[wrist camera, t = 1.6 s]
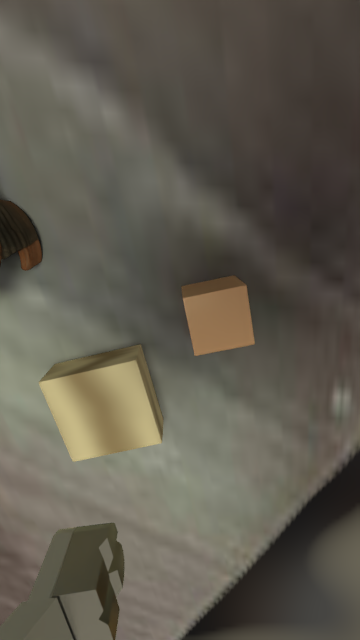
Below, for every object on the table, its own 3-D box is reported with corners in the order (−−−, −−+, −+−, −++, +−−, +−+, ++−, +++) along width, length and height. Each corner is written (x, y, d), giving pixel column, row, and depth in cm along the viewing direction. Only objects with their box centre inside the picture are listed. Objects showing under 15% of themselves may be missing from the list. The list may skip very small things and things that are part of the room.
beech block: (141, 343, 30) (136, 360, 26) (163, 417, 32) (162, 442, 28) (55, 362, 30) (38, 382, 26) (84, 434, 33) (73, 461, 29)
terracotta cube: (233, 274, 27) (246, 284, 23) (241, 324, 29) (254, 344, 24) (181, 286, 28) (182, 298, 23) (191, 334, 29) (194, 356, 24)
